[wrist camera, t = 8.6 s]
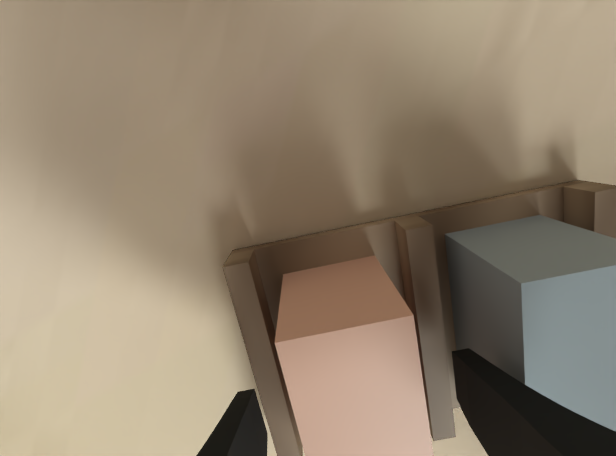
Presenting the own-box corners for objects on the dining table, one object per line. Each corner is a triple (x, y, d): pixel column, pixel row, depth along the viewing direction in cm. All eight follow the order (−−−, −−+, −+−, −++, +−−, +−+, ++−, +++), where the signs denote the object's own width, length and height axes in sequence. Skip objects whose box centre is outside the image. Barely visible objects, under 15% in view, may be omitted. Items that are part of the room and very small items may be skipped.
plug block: (374, 255, 14) (413, 315, 9) (400, 406, 16) (442, 520, 11) (283, 274, 14) (274, 342, 9) (319, 422, 16) (328, 540, 11)
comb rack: (578, 180, 14) (622, 186, 12) (576, 376, 17) (613, 408, 15) (232, 250, 14) (222, 267, 13) (283, 431, 17) (281, 468, 15)
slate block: (539, 214, 14) (667, 254, 9) (543, 374, 16) (649, 476, 11) (444, 233, 14) (520, 283, 9) (460, 389, 16) (529, 497, 11)
